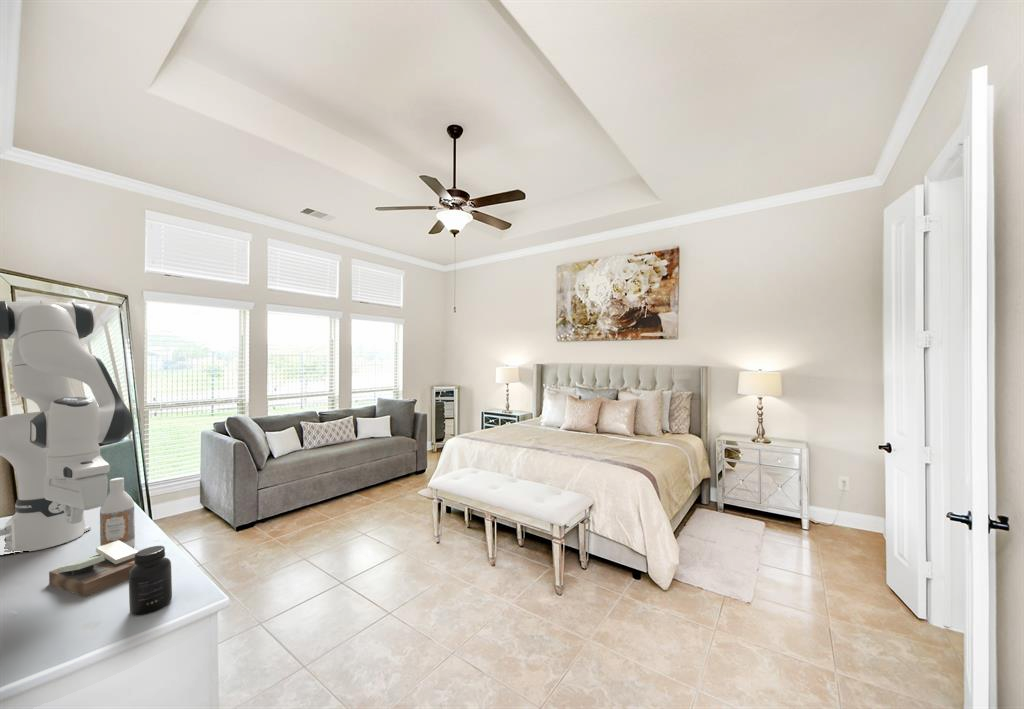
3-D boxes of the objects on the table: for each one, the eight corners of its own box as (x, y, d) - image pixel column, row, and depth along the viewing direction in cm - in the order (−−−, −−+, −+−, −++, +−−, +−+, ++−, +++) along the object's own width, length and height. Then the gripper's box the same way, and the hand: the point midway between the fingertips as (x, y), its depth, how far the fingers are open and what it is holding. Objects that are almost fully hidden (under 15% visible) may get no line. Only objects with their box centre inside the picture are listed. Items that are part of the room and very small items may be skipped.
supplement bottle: (128, 607, 87) (127, 550, 87) (170, 593, 92) (169, 540, 92) (129, 621, 82) (128, 561, 82) (173, 606, 87) (172, 549, 87)
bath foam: (97, 558, 110) (95, 484, 110) (104, 548, 115) (103, 478, 116) (131, 551, 114) (130, 479, 114) (137, 542, 119) (136, 473, 120)
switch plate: (49, 584, 97) (49, 567, 97) (113, 560, 108) (113, 545, 108) (84, 597, 91) (84, 579, 91) (149, 570, 102) (149, 554, 102)
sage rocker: (60, 572, 96) (59, 567, 96) (85, 563, 100) (84, 558, 100) (79, 569, 93) (78, 563, 93) (104, 560, 97) (103, 555, 97)
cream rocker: (95, 552, 102) (96, 547, 102) (118, 544, 106) (118, 540, 106) (115, 564, 99) (116, 559, 99) (137, 556, 103) (138, 551, 103)
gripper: (34, 463, 99) (33, 520, 99) (78, 472, 92) (77, 534, 91) (70, 457, 105) (69, 511, 105) (114, 465, 97) (113, 523, 97)
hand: (73, 522), depth 98 cm, fingers closed
